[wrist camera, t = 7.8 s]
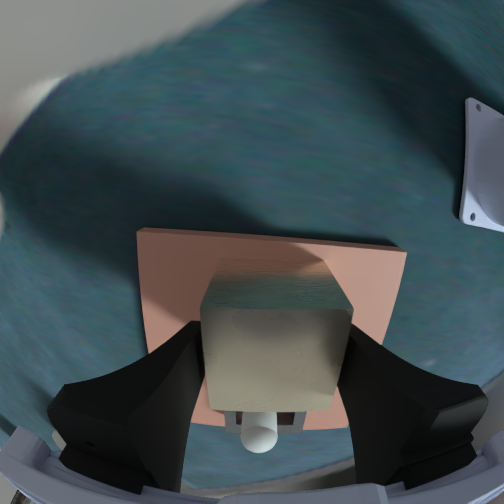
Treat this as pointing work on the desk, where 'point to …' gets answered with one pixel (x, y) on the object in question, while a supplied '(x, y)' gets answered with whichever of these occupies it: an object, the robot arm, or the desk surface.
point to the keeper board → (258, 247)
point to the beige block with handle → (273, 339)
